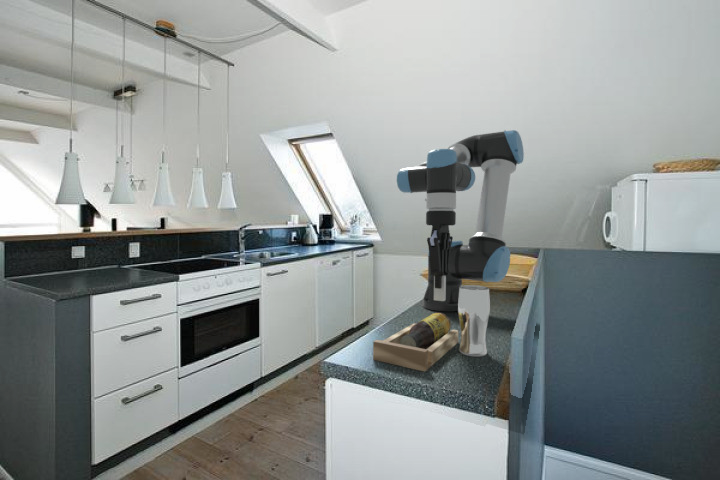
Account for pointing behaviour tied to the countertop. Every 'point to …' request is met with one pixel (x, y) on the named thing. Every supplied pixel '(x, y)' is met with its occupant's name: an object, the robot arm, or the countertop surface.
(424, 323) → the sauce bottle
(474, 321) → the beer glass
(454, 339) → the bracket
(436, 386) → the countertop surface
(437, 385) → the countertop surface
